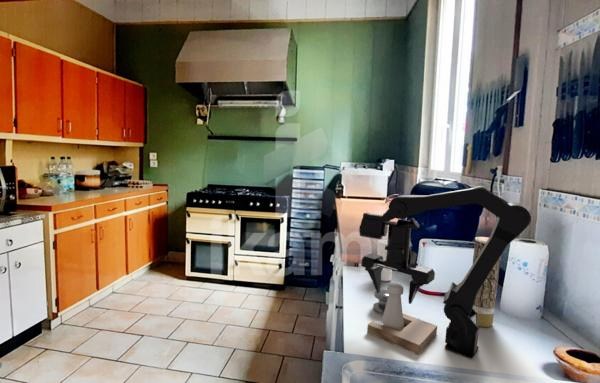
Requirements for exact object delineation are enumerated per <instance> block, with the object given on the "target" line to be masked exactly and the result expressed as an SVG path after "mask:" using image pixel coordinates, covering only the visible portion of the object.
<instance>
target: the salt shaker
mask: <svg viewBox="0 0 600 383" xmlns="http://www.w3.org/2000/svg"><path fill="white" fill-rule="evenodd" d="M386 290H387V292H388V293H389V295H388V299H387V303H386V307H385V311H384V314H382V317H381V323H382V325H384V326H386V327H389V328H391V329H394V330H396V331H399V332H401V331H402V330H403V328H404V327H403V325H404V321H403V314H404V313H403V305H402V304H403V303H402V295H403V294H404V286H403V285H402V284H400V283H397V282H390V283H388V284H387V287H386Z"/></svg>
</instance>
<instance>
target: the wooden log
mask: <svg viewBox="0 0 600 383" xmlns="http://www.w3.org/2000/svg"><path fill="white" fill-rule="evenodd" d="M489 237H490V236H489ZM489 237H488V236H476V237H475V239H474V249H473V256H472V257H473V258H472V264H473V263H474V262H475V260H476V258H477V257H478V255H479V253H480V252H481V250H482V249H483V247H484V245H485V244H486V242H487V240H488V239H489ZM501 257H502V255H501V256H500V258H499V259H498V261H497V262H496V264H495V266H494V267H493V269H492V270H491V272H490V273H489V275H488V277H487V278H486V280H485V281H484V283H483V284H482V286H481V288H480V289H479V291H478V292H477V295H476V298H475V302H474V305H473V309H474V311H475V312H476V313H477V314H478V327H483V328H489V327H492V325H493V324H494V316H495V307H496V298H497V290H498V282H499V272H500V267H501V266H500V265H501Z"/></svg>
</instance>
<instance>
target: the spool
mask: <svg viewBox="0 0 600 383" xmlns="http://www.w3.org/2000/svg"><path fill="white" fill-rule="evenodd" d="M373 295H374V298H375V299H377V300H378V302H375V303H373V308H372V309H373V310H374V311H375V312H376V313H378V314H381V315H383V314H384V311H385V307H386V303H387V299H388V295H389V293H388V292H387V289H380V293H377V291H376V290H374V294H373Z"/></svg>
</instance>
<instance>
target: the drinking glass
mask: <svg viewBox="0 0 600 383" xmlns="http://www.w3.org/2000/svg"><path fill="white" fill-rule="evenodd" d="M387 242H388V239H381V240H380V239H378V241H377V249H376V250H377V252H376V253H377V254H376V255H380V256H382V257H383V260H384V261H385V260H386V255H387V250H385V246H386V245H387ZM392 274H393V270H391V269H387V268H383V269H382V272H381V282H390V281H391V280H392Z"/></svg>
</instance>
